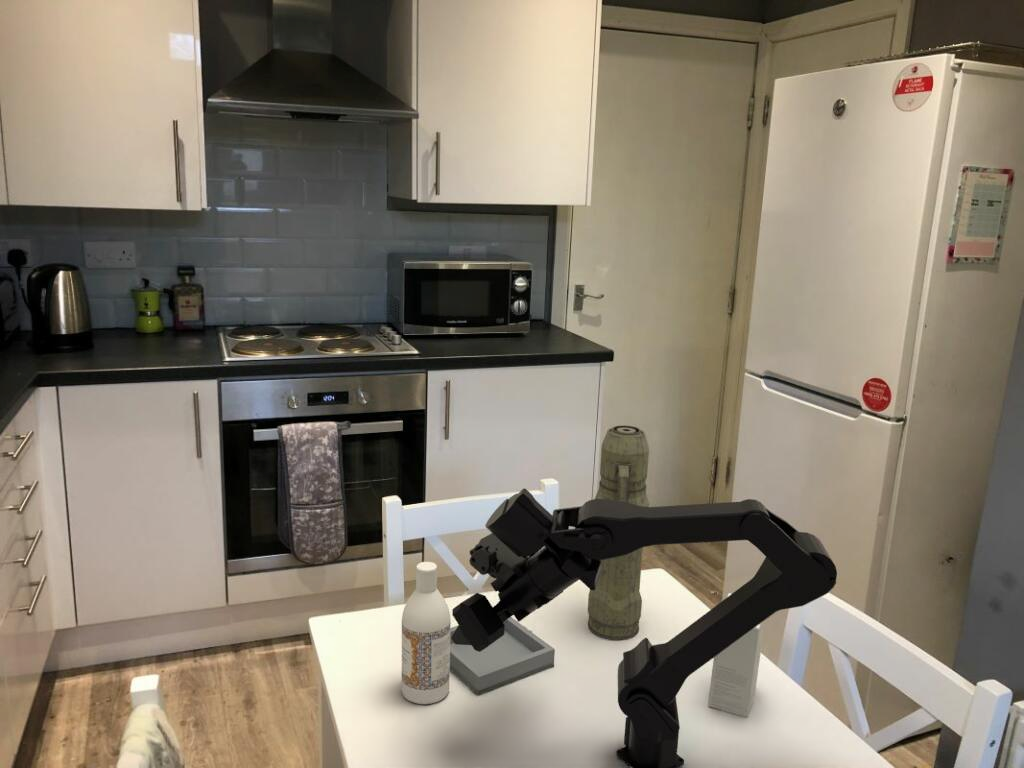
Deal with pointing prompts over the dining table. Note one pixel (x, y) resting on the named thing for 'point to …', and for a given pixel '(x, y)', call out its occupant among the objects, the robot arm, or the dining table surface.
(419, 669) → the bath foam
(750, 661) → the skincare box
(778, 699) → the dining table surface
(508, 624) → the grey square tray
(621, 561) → the thermos
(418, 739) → the dining table surface
